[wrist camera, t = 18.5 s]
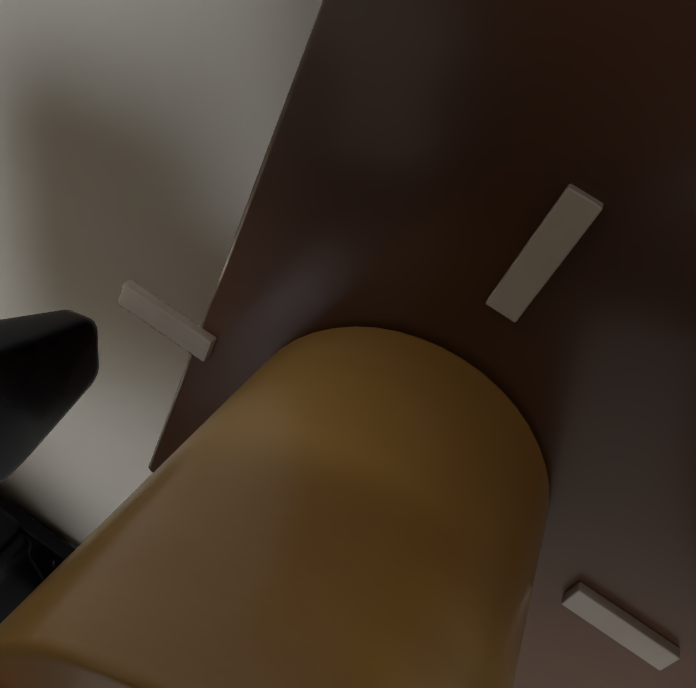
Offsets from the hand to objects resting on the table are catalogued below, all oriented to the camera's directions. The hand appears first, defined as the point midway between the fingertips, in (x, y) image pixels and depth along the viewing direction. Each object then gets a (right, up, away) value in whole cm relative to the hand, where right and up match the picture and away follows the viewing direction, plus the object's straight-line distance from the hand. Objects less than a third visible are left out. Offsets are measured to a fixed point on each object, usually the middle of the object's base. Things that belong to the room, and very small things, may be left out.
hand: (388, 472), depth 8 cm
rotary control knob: (0, 0, 0) cm, 0 cm away
